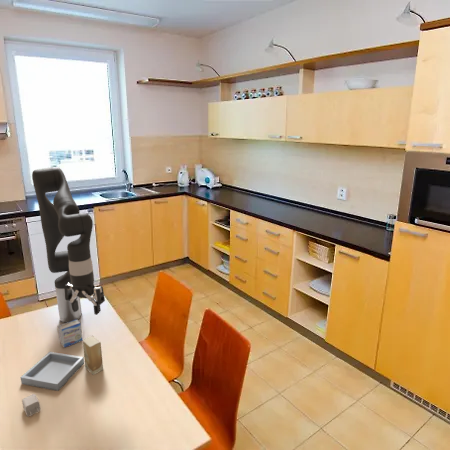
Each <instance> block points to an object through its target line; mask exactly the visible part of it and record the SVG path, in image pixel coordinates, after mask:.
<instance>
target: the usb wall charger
mask: <svg viewBox="0 0 450 450" xmlns="http://www.w3.org/2000/svg"><path fill="white" fill-rule="evenodd" d="M21 402H22V403H21V404H22V408H23V410H24V412H25V414H26V417H33V415H34V414H37V413H40V411H41V404H40V401H39V399H38V397H37V395H36V394H35V393H32V394H29V395H28V396H26V397H24V398H22V399H21Z"/></svg>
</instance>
